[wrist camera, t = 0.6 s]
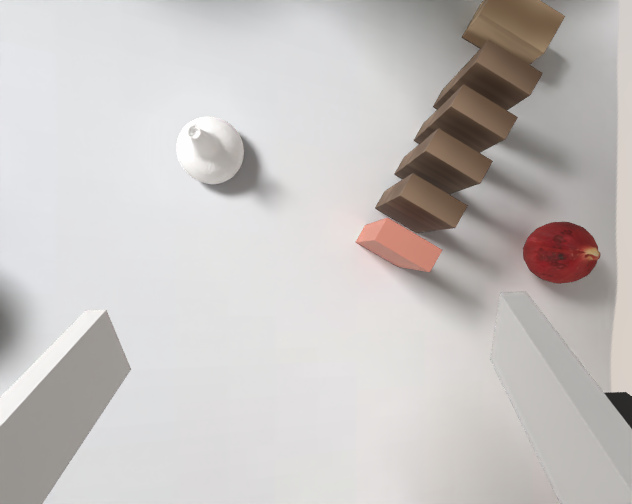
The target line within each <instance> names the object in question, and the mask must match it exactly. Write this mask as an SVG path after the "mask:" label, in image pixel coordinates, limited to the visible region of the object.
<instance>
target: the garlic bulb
mask: <svg viewBox="0 0 632 504" xmlns="http://www.w3.org/2000/svg"><path fill="white" fill-rule="evenodd" d="M176 149H177V156H178V160H179V162H180V164H181V166H182V168H183V169H184V170H185V171H186V173H187V174H188V175H190V176H191V177H192V178H194V179H195V180H198V181H200V182H203V183H207V184H219V183H223V182H225V181H227V180H229V179H230V178H232V177H233V176H234V175H235V174H236V173H237V172H238V170H239V169H240V167H241V165H242V162H243V157H244V147H243V142H242V139H241V137H240V135H239V133H238V132H237V130H236V129H235V128H234V127H233V126H232V125H231V124H229V123H228V122H226V121H224V120H222V119H219V118H216V117H201V118H197V119H195V120H193V121H191V122H189V123H188V124H187V125H186V126H185V127H184V128H183V129H182V131H181V132H180V134H179V136H178V139H177V146H176Z"/></svg>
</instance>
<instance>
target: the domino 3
mask: <svg viewBox="0 0 632 504" xmlns="http://www.w3.org/2000/svg"><path fill="white" fill-rule="evenodd" d="M492 162H493V161H492V160H490V159H489V158H487V157H485V156H484V155H482V154H480V153H479V152H477V151H475V150H474V149H472V148H470V147H469V146H467V145H465V144H464V143H462V142H460V141H459V140H457V139H455V138H454V137H452V136H450V135H449V134H447V133H445V132H444V131H442V130H440V129H439V128H438V129H437V130H436V131H435V132H433V133H432V134H431V135H430V136H429V137H427V138H426V139H425V140H424V141H423V142H422V143H420V144H419V145H418V146H417V147H416V148H414V149H413V150H412V151H411V152H410V153H409V154H407V155H406V156H405V157H404V158H403V160H402V162H401V163H400V165H399V167H398V169H397V170H396V172H395V175H396V176H398V177H400V178H401V179H405V178H406V177H408V176H409V175H411V174H412V173H414V174H415V175H417V176H419V177H420V178H422V179H424V180H425V181H427V182H429V183H431V184H432V185H434V186H436V187H437V188H439V189H441V190H442V191H444V192H446V193H447V194H451V193H454V192H457V191H460V190H463V189H465V188H468V187H471V186H474V185H477V184H480V183H481V181H482V179H483V178H484V176H485V174H486V172H487V171H488V169H489V167H490V165H491V163H492Z"/></svg>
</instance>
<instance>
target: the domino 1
mask: <svg viewBox="0 0 632 504" xmlns="http://www.w3.org/2000/svg"><path fill="white" fill-rule="evenodd" d="M541 75H542V72H540V71H538V70H537V69H535V68H534V67H532V66H530V65H529V64H527V63H526V62H524V61H522V60H521V59H519V58H517V57H516V56H514V55H513V54H511V53H509V52H508V51H506V50H505V49H503V48H501V47H500V46H498V45H497V44H495V43H493V42H492V41H490V40H488V41H487V42H486V43H485V44H484V46H483V47H482V48H481V49H480V50H479V51H478V52H477V53H476V54H475V55H474V56H473V57H472V59H471V60H470V61H469V62H468V63H467V64H466V65H465V66H464V67H463V68H462V69H461V70H460V72H459V73H458V74H457V75H456V76H455V77H454V78H453V79H452V80H451V81H450V82H449V83H448V85H447V86H446V87H445V88H444V89H443V90H442V92H441V93H440V95H439V97H438V99H437V100H436V102H435V104H434V106H433V107H434V108H436V109H437V110H438V109H439V108H440V107H441V106H442V105H443V104H444V103H445V102H446V101H447V100H448V99H449V98H450V97H451V96H452V95H453V94H454V93H455V92H456V91H457V90H458V89H459V88H460V87H461V86H462V85H463V84H464V85H466V86H467V87H469V88H471V89H472V90H474V91H476V92H477V93H479V94H481V95H482V96H484V97H485V98H487V99H489V100H490V101H492V102H494V103H495V104H497V105H498V106H500V107H502V108H503V109H505V110H508V109H510V108H511V107H513V106H514V105H516V104H517V103H519V102H520V101H522V100H523V99H525V98H527V97H528V96H530V95H531V93H532V91H533V89H534V88H535V86H536V84H537V82H538V81H539V79H540V77H541Z"/></svg>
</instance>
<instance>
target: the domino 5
mask: <svg viewBox="0 0 632 504" xmlns="http://www.w3.org/2000/svg"><path fill="white" fill-rule="evenodd" d="M356 243H358V244H359V245H361V246H363V247H365V248H366V249H368V250H370V251H372V252H373V253H375V254H377V255H378V256H380V257H382V258H384V259H385V260H387V261H389V262H391V263H392V264H394V265H396V266H397V267H403V268H408V269H414V270H420V271H425V272H430V271H431V269H432V268H433V266H434V264H435V262H436V260H437V259H438V257H439V255H440V253H441V252H442V249H440V248H438V247H437V246H435V245H433V244H431V243H430V242H428V241H426V240H425V239H423V238H421V237H419V236H418V235H416V234H414V233H413V232H411V231H409V230H408V229H406V228H404V227H402V226H401V225H399V224H397V223H396V222H394V221H392V220H390V219H389V218H385V219H382V220H379V221H376V222H373V223H370V224H367V225H365V227H364V228H363V230H362V232H361V234H360V235H359V237H358V239H357V241H356Z"/></svg>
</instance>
